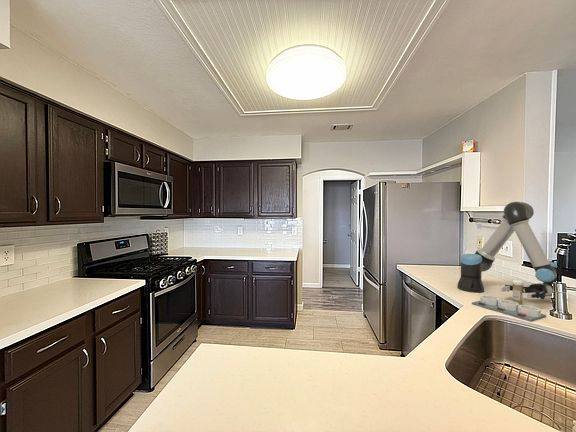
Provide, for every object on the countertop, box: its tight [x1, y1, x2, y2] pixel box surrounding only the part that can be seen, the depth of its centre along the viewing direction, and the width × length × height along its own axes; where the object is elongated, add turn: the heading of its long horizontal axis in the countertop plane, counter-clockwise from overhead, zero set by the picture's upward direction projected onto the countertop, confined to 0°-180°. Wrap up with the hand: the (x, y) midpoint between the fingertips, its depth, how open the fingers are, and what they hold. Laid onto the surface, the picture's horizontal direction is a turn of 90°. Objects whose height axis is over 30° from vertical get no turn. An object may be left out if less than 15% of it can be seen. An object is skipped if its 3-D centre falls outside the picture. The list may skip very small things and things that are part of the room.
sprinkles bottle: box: [511, 279, 524, 305], centre depth 155 cm, size 5×5×13 cm
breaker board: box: [471, 294, 547, 323], centre depth 145 cm, size 27×15×4 cm, turn 26°
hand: (513, 292), depth 154 cm, fingers open, 12 cm apart
